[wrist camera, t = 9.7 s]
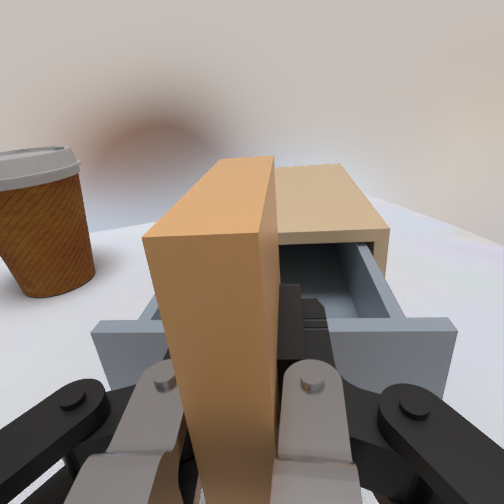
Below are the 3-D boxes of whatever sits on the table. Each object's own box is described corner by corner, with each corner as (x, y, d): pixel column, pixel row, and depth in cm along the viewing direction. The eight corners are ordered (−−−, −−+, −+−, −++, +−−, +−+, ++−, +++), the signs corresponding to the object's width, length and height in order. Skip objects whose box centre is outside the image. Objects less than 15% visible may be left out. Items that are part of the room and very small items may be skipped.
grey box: (210, 253, 34) (191, 123, 28) (351, 248, 32) (358, 109, 27) (44, 604, 11) (-230, 252, 5) (521, 653, 9) (827, 209, 4)
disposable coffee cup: (116, 288, 30) (75, 151, 25) (-9, 322, 26) (-85, 172, 21) (109, 251, 38) (77, 142, 33) (13, 273, 34) (-40, 155, 29)
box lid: (225, 226, 42) (218, 171, 39) (338, 221, 40) (339, 163, 37) (180, 326, 24) (161, 237, 21) (380, 324, 22) (389, 228, 19)
